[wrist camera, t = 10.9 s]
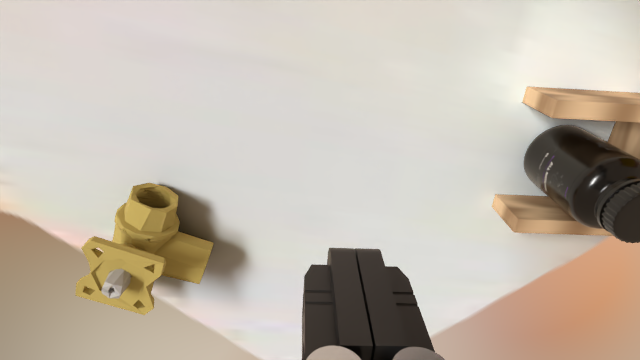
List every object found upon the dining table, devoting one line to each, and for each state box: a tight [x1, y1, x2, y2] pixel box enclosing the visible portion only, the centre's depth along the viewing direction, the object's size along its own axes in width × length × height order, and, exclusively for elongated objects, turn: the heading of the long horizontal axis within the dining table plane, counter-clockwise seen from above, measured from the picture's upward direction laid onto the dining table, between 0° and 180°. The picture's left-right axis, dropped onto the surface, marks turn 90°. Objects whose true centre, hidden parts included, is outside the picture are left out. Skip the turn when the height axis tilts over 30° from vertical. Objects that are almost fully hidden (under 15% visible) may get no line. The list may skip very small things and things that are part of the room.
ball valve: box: [76, 183, 214, 315], centre depth 39 cm, size 13×10×10 cm
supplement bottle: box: [524, 125, 640, 243], centre depth 35 cm, size 7×7×12 cm
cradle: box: [492, 87, 640, 236], centre depth 38 cm, size 12×13×5 cm
